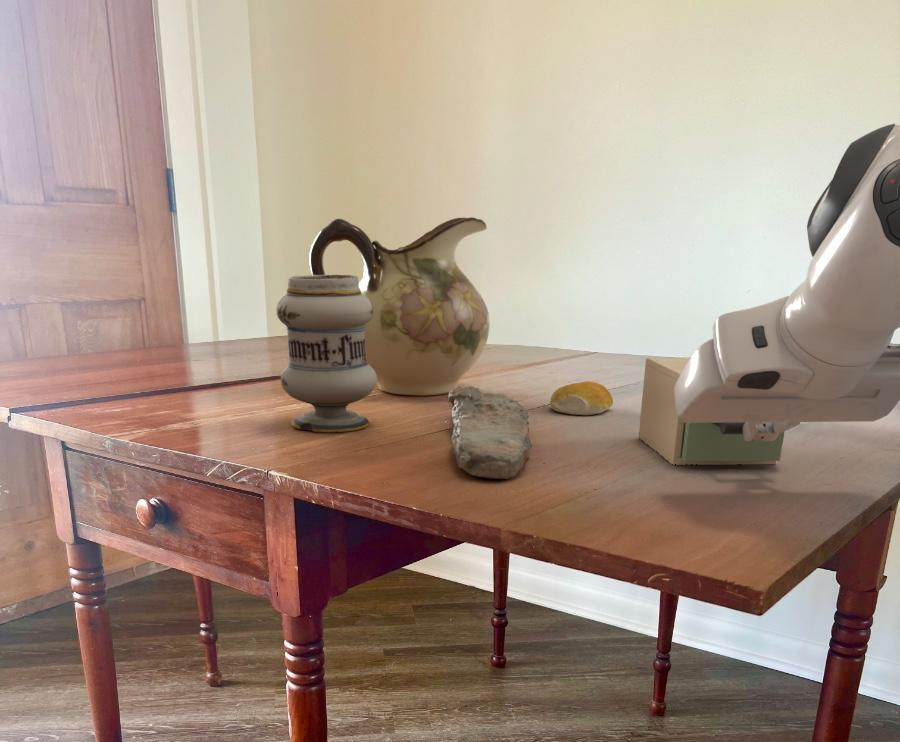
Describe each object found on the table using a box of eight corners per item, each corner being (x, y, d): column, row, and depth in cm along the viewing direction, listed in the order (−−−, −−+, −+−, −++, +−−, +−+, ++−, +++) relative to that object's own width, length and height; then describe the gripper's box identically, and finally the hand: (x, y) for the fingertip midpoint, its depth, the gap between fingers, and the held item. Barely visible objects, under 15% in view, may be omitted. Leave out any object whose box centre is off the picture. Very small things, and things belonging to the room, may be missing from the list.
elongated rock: (439, 493, 87) (537, 500, 87) (442, 442, 85) (543, 449, 85) (448, 409, 119) (520, 413, 119) (450, 370, 116) (524, 375, 116)
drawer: (797, 470, 89) (810, 393, 86) (698, 471, 88) (708, 394, 85) (735, 435, 104) (745, 368, 101) (650, 435, 103) (657, 369, 100)
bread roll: (618, 407, 124) (620, 379, 123) (597, 418, 117) (599, 388, 116) (564, 402, 128) (566, 374, 126) (541, 412, 121) (542, 382, 119)
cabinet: (776, 464, 95) (790, 374, 91) (672, 465, 94) (682, 375, 90) (730, 437, 107) (741, 357, 103) (638, 437, 106) (645, 357, 103)
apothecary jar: (264, 428, 109) (252, 276, 102) (317, 412, 119) (310, 272, 112) (346, 438, 104) (340, 279, 97) (394, 420, 114) (392, 275, 107)
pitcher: (516, 390, 137) (523, 217, 127) (409, 409, 121) (407, 214, 112) (417, 374, 151) (417, 218, 141) (310, 389, 135) (301, 215, 126)
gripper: (928, 315, 75) (850, 407, 88) (699, 315, 74) (654, 408, 87) (947, 376, 73) (864, 461, 86) (711, 376, 71) (663, 463, 84)
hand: (757, 435), depth 86 cm, fingers closed, pressing on drawer
